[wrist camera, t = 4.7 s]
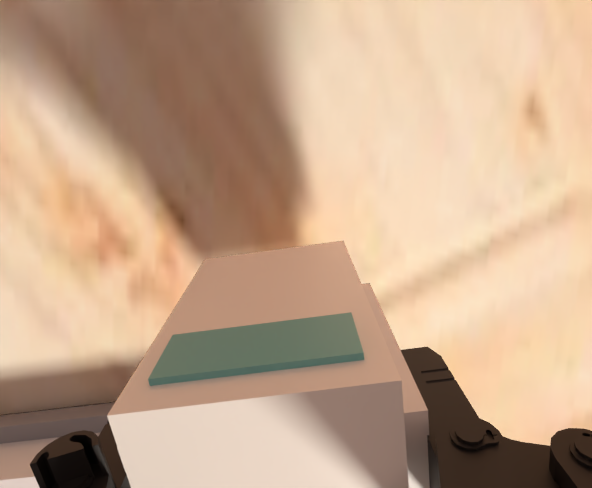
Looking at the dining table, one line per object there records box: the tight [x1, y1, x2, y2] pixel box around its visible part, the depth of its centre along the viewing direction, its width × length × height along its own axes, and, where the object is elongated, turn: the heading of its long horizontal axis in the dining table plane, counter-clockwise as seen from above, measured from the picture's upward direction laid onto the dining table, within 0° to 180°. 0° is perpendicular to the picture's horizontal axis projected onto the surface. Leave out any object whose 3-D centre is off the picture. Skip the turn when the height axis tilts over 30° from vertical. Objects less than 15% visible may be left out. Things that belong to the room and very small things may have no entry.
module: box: [107, 241, 409, 488], centre depth 11 cm, size 6×5×8 cm
